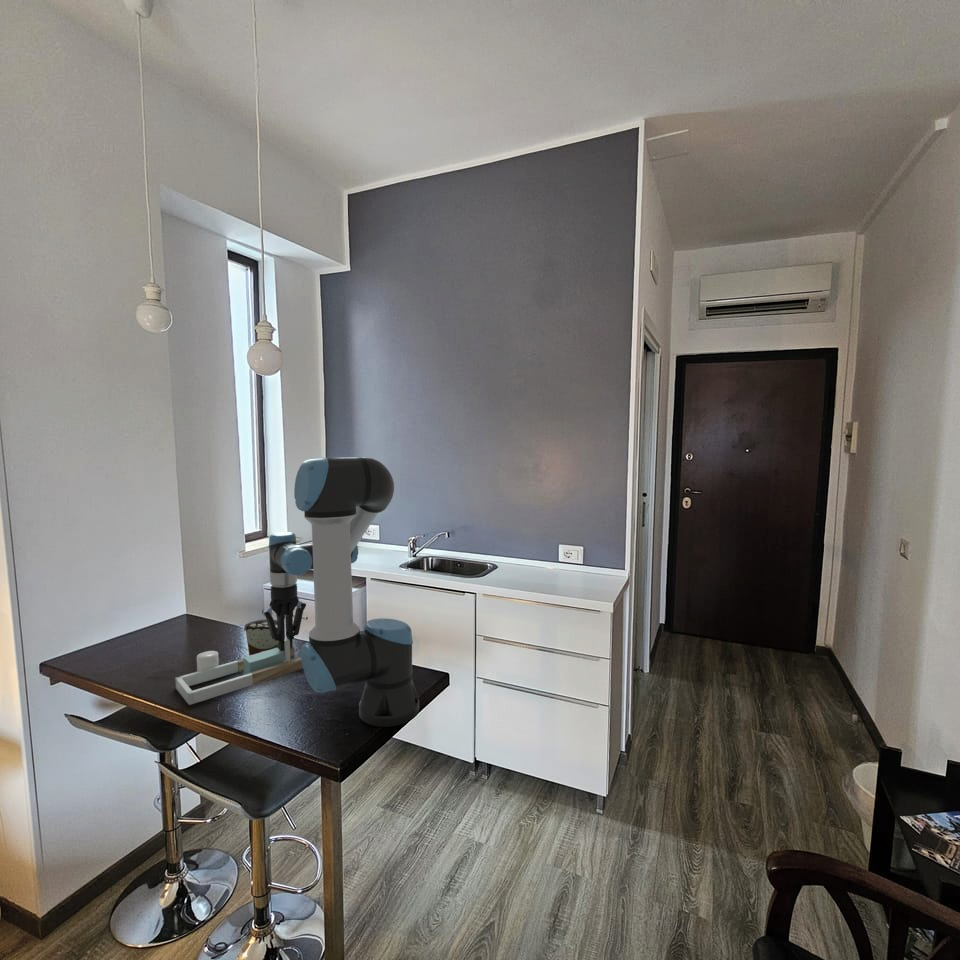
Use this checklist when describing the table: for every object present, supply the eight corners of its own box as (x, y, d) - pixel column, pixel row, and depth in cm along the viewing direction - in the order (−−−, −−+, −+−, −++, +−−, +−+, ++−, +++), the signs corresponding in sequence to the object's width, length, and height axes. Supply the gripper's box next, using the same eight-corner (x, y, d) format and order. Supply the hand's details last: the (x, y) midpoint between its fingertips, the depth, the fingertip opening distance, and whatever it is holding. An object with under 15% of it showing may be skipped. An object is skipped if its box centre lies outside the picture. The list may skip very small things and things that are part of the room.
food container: (290, 649, 174) (289, 619, 173) (281, 657, 168) (281, 626, 167) (254, 647, 175) (253, 617, 174) (244, 655, 169) (243, 624, 168)
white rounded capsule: (221, 674, 155) (221, 655, 155) (200, 681, 151) (200, 660, 151) (215, 668, 159) (214, 649, 159) (195, 674, 155) (194, 654, 155)
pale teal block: (284, 668, 159) (283, 652, 159) (267, 674, 156) (267, 657, 155) (277, 663, 163) (276, 647, 162) (260, 668, 159) (260, 652, 159)
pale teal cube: (267, 674, 156) (267, 657, 155) (250, 679, 152) (249, 662, 152) (261, 668, 159) (260, 652, 159) (243, 673, 156) (243, 657, 155)
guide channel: (309, 666, 161) (309, 657, 161) (252, 684, 149) (252, 674, 149) (292, 654, 170) (292, 645, 169) (236, 670, 158) (236, 660, 158)
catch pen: (252, 684, 149) (252, 674, 149) (189, 705, 138) (188, 694, 138) (236, 670, 158) (236, 660, 158) (175, 688, 147) (175, 677, 147)
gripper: (299, 577, 167) (301, 650, 169) (257, 585, 158) (259, 662, 160) (310, 582, 161) (311, 657, 164) (267, 591, 153) (269, 670, 155)
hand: (286, 659), depth 162 cm, fingers closed
